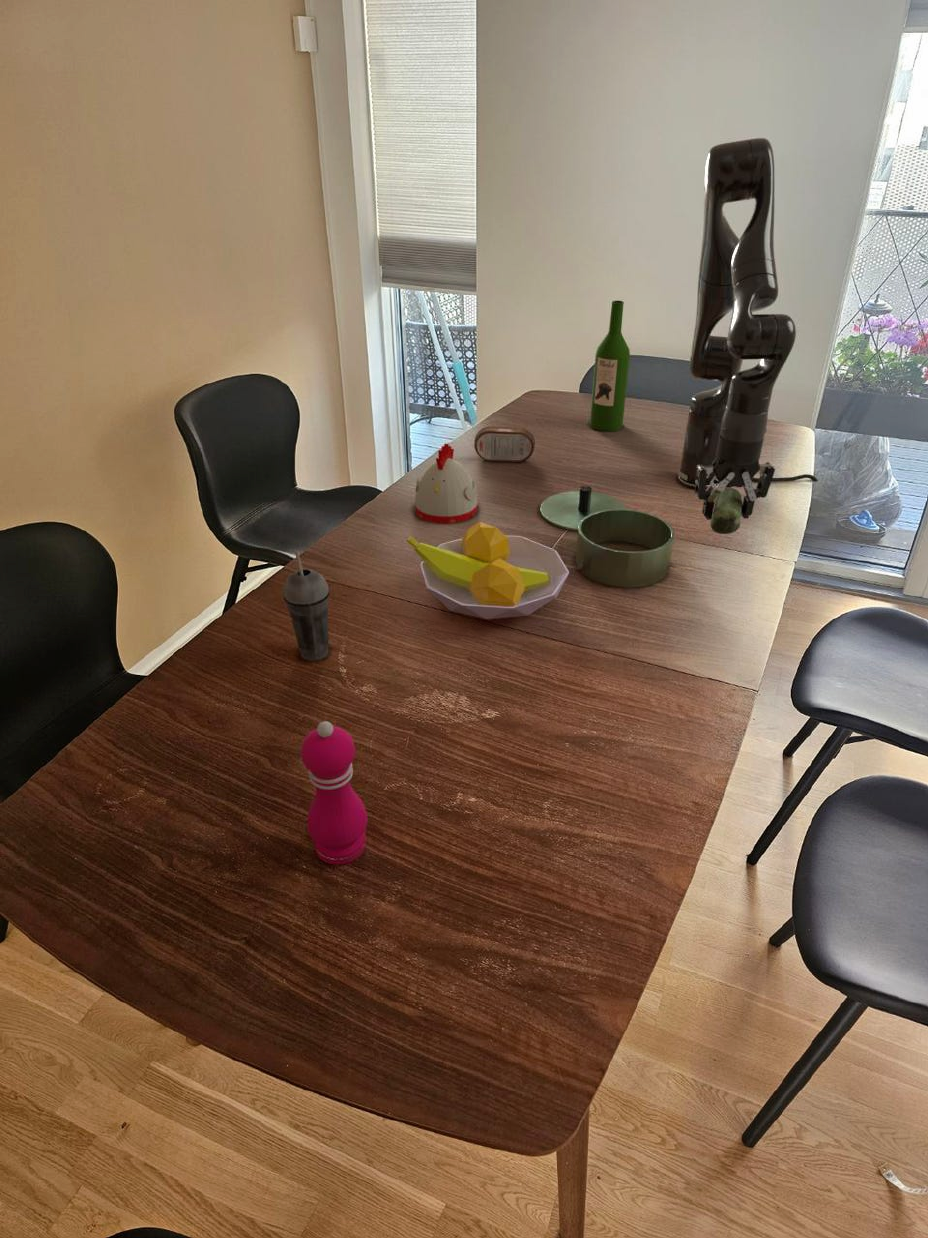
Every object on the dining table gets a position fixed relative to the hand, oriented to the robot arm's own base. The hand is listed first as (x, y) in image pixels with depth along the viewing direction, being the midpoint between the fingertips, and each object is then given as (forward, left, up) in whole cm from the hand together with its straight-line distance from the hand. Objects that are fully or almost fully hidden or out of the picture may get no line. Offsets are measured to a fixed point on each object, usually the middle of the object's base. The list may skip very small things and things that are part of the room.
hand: (725, 517), depth 151 cm
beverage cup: (+75, +25, -11) cm, 80 cm away
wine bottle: (+7, -78, -11) cm, 79 cm away
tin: (+37, -55, -11) cm, 67 cm away
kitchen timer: (+52, -28, -11) cm, 60 cm away
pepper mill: (+67, +66, -11) cm, 95 cm away
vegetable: (0, 0, -1) cm, 1 cm away
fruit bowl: (+45, +8, -11) cm, 47 cm away
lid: (+22, -24, -10) cm, 34 cm away
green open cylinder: (+18, -2, -11) cm, 21 cm away
